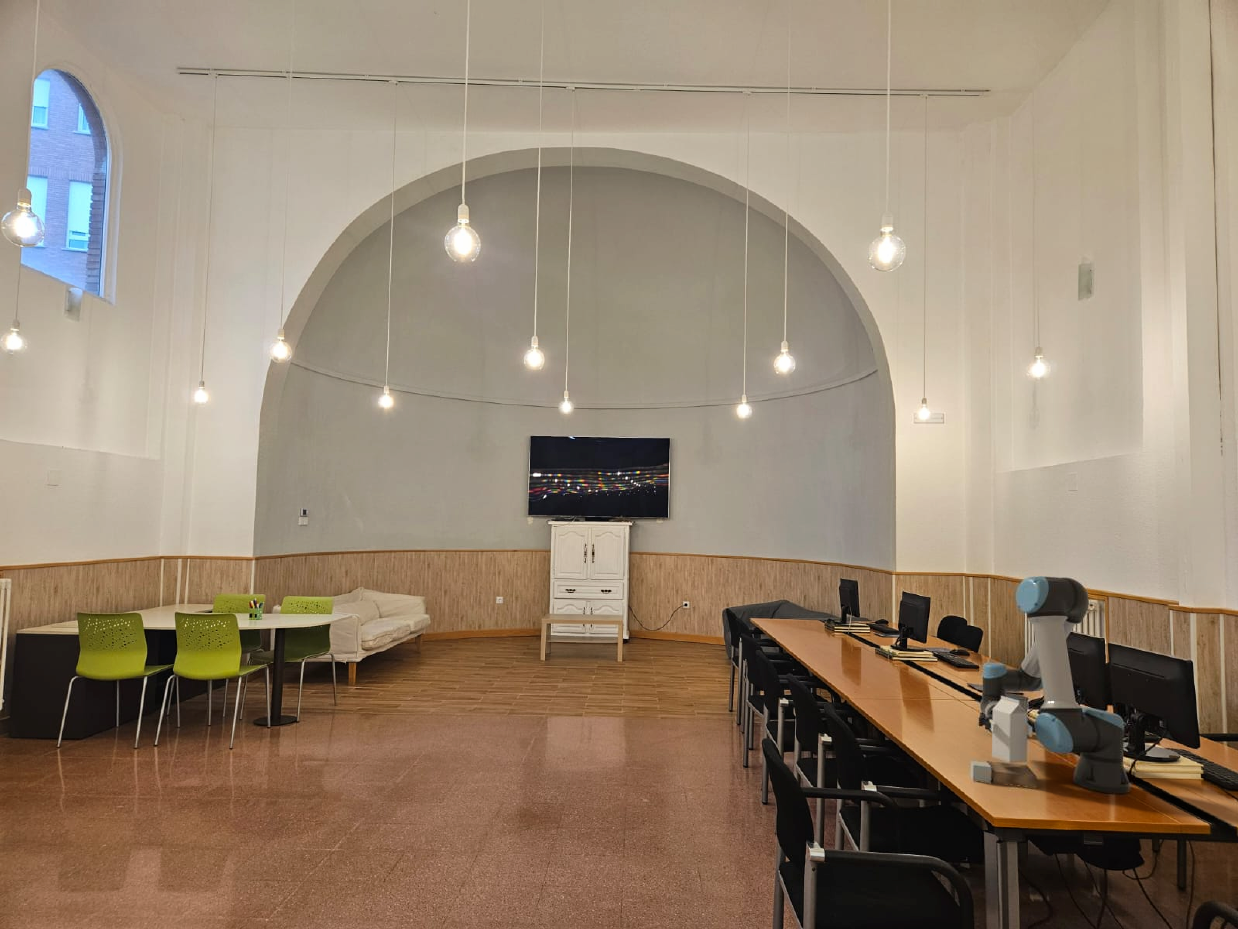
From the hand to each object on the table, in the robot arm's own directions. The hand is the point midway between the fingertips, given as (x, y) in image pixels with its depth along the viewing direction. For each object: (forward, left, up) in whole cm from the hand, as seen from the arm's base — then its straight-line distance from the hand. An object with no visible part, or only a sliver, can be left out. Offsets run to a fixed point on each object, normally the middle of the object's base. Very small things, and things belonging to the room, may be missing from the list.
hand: (1012, 730), depth 256 cm
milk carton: (0, -4, -10) cm, 11 cm away
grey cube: (+9, 0, -16) cm, 19 cm away
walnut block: (-1, -4, -17) cm, 17 cm away
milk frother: (-12, -69, -17) cm, 72 cm away
